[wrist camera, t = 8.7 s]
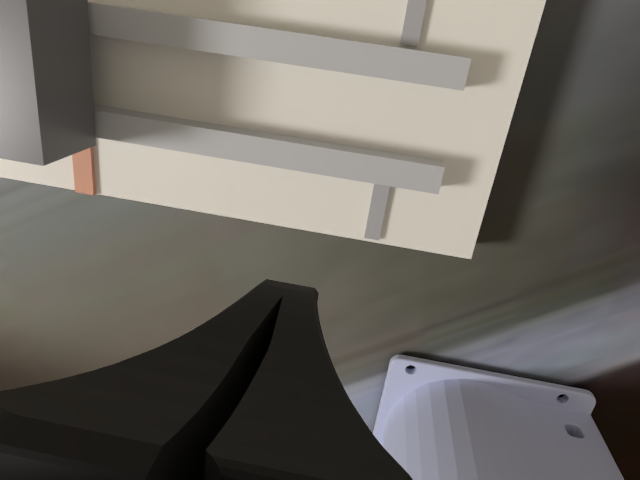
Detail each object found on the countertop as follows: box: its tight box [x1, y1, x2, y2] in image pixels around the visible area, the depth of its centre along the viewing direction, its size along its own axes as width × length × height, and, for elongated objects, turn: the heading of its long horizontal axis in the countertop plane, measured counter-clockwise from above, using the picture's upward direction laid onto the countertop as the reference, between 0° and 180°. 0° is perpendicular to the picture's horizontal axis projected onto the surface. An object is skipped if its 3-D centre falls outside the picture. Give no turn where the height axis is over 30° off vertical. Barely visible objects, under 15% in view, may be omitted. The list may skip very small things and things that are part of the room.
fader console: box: [0, 0, 546, 259], centre depth 18 cm, size 22×10×2 cm, turn 82°
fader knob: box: [0, 0, 96, 166], centre depth 16 cm, size 4×5×4 cm
